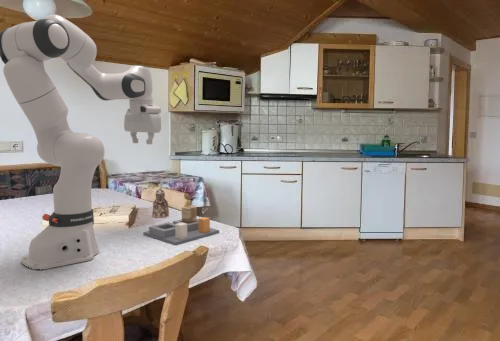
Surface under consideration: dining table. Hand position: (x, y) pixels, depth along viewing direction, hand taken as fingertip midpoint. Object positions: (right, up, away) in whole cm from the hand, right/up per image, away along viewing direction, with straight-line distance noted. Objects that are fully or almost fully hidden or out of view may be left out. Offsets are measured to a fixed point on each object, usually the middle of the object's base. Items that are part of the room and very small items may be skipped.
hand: (142, 143), depth 168 cm
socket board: (+17, -35, -8) cm, 39 cm away
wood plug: (+19, -33, -3) cm, 38 cm away
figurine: (+3, -31, +20) cm, 37 cm away
